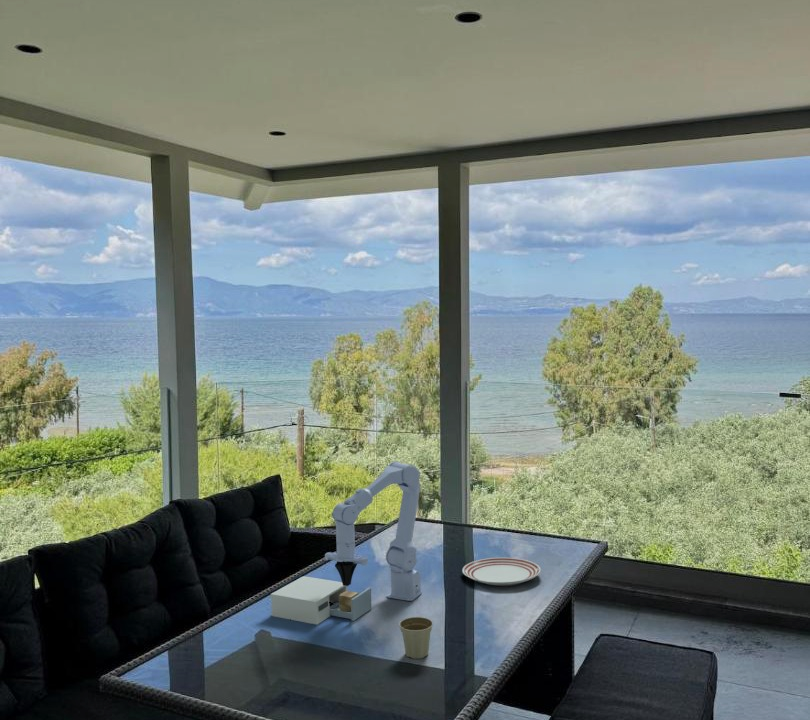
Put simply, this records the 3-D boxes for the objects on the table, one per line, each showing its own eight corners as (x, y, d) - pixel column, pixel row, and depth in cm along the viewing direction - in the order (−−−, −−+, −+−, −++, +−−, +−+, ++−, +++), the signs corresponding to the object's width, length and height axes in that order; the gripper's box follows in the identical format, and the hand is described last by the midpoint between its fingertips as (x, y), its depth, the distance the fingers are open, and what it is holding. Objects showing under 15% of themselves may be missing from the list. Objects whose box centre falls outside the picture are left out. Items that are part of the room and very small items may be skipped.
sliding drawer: (371, 608, 245) (370, 588, 245) (353, 620, 235) (353, 599, 235) (343, 603, 250) (342, 583, 249) (324, 615, 240) (324, 594, 240)
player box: (348, 604, 249) (347, 583, 249) (317, 624, 233) (317, 602, 233) (304, 596, 257) (303, 576, 257) (271, 615, 241) (270, 594, 241)
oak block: (358, 608, 244) (358, 592, 244) (351, 613, 240) (351, 597, 240) (346, 606, 246) (346, 590, 246) (339, 610, 242) (339, 595, 242)
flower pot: (409, 664, 205) (408, 633, 205) (393, 651, 214) (392, 621, 213) (440, 657, 210) (439, 625, 209) (423, 644, 218) (422, 614, 217)
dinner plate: (452, 586, 264) (452, 576, 264) (475, 561, 290) (474, 553, 290) (531, 595, 254) (531, 585, 254) (547, 569, 280) (547, 560, 280)
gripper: (319, 542, 241) (320, 585, 242) (359, 548, 234) (360, 592, 235) (331, 536, 247) (332, 578, 248) (370, 542, 241) (371, 584, 241)
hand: (346, 584), depth 242 cm, fingers closed
